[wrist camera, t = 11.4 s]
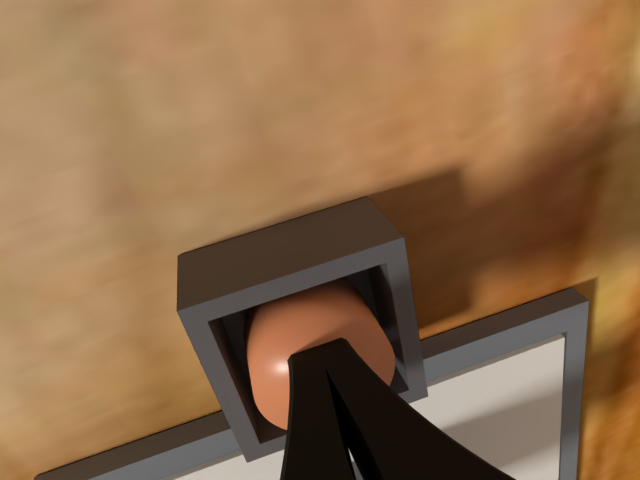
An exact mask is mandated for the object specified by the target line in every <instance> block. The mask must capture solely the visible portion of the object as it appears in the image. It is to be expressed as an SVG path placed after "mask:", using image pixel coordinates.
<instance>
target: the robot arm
mask: <svg viewBox="0 0 640 480" xmlns="http://www.w3.org/2000/svg"><path fill="white" fill-rule="evenodd" d="M287 362H288V368H289V411H288V424H287V435H286V443H285V449H284V456H283V463H282V469H281V475H280V480H356V476H355V473H354V469H353V465H352V461H351V457H350V453H349V450H350V452H351V455H352V457H353V459H354V461H355V463H356V466H357V468H358V470H359V472H360V474H361V476H362V479H363V480H516V479H515V478H513V477H511V476H509V475H508V474H506V473H504V472H503V471H501V470H499V469H497V468H496V467H494V466H492V465H491V464H489V463H488V462H486V461H485V460H483V459H482V458H480V457H479V456H477V455H476V454H474V453H473V452H471V451H470V450H468V449H467V448H465V447H464V446H462V445H461V444H459V443H458V442H457V441H455V440H454V439H452V438H451V437H450V436H448V435H447V434H446V433H444V432H443V431H441V430H440V429H439V428H438V427H436V426H435V425H434V424H432V423H431V422H430V421H429V420H427V419H426V418H425V417H424V416H422V415H421V414H420V413H419V412H418V411H416V410H415V409H414V408H413V407H412V406H410V405H409V404H408V403H407V402H406V401H405V400H403V399H402V398H401V397H400V396H399V395H398V394H397V393H396V392H395V391H394V390H393V389H391V388H390V387H389V386H388V385H387V384H386V383H385V382H384V381H383V380H382V379H381V378H380V377H379V376H378V375H377V374H376V373H375V372H374V371H373V370H372V369H371V368H370V367H369V366H368V365H367V364H366V363H365V362H364V360H363V359H362V358H361V357H360V356H359V355H358V354H357V352H356V351H355V350H354V349H353V347H352V346H351V345H350V343H349V342H348V341H347V340H346V339H344V338H342V337H341V338H338V339H335V340H332V341H330V342H327V343H324V344H321V345H318V346H315V347H312V348H309V349H306V350H304V351H301V352H298V353H295V354H292V355H290V357H289V358H288V360H287ZM348 448H349V449H348Z"/></svg>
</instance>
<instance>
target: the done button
mask: <svg viewBox="0 0 640 480" xmlns="http://www.w3.org/2000/svg"><path fill="white" fill-rule="evenodd" d="M243 337H244V344H245V350H246V356H247V362H248V367H249V373H250V379H251V385H252V390H253V396H254V400H255V403H256V405H257V407H258V409H259V411H260V412H261V414H262V415H263V416H264V417H265V418H266V419H267V420H268V421H270V422H271V423H273V424H274V425H276V426H278V427H280V428H282V429H285V430H287V424H288V411H289V368H288V362H287V360H288V358H289V357H290V355H292V354H295V353H298V352H301V351H304V350H306V349H309V348H312V347H315V346H318V345H321V344H324V343H327V342H330V341H332V340H335V339H338V338H341V337H342V338H344V339H346V340H347V341H348V342H349V343H350V345H351V346H352V347H353V349H354V350H355V351H356V352H357V354H358V355H359V356H360V357H361V358H362V359H363V360H364V362H365V363H366V364H367V365H368V366H369V367H370V368H371V369H372V370H373V371H374V372H375V373H376V374H377V375H378V376H379V377H380V378H381V379H382V380H383V381H384V382H385V383H386V384H387V385H388V386H390V384H391V381H392V378H393V375H394V370H395V355H394V352H393V348H392V346H391V344H390V342H389V340H388V339H387V337H386V335H385V333H384V332H383V330H382V328H381V327H380V325H379V323H378V321H377V320H376V318H375V316H374V315H373V313H372V311H371V309H370V308H369V306H368V304H367V303H366V301H365V299H364V297H363V296H362V294H361V293H360V291H359V290H358V289H357V288H356V287H355V286H354V285H353V284H352V283H350V282H349V281H347V280H345V279H343V278H342V277H341V278H338V279H335V280H332V281H329V282H326V283H323V284H320V285H317V286H314V287H311V288H307V289H304V290H301V291H298V292H295V293H292V294H289V295H286V296H283V297H280V298H277V299H274V300H271V301H268V302H265V303H262V304H259V305H256V306H253V307H251V308H250V310H249V312H248V314H247V317H246V320H245V324H244V330H243Z"/></svg>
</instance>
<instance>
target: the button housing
mask: <svg viewBox="0 0 640 480" xmlns="http://www.w3.org/2000/svg"><path fill="white" fill-rule="evenodd" d="M341 277H342V278H343V279H345V280H347V281H349V282H350V283H352V284H353V285H354V286H355V287H356V288H357V289H358V290H359V291H360V293H361V294H362V296H363V297H364V299H365V301H366V303H367V304H368V306H369V308H370V309H371V311H372V313H373V315H374V316H375V318H376V320H377V321H378V323H379V325H380V327H381V328H382V330H383V332H384V333H385V335H386V337H387V339H388V340H389V342H390V344H391V346H392V348H393V352H394V355H395V370H394V375H393V378H392V381H391V384H390V386H389V387H390V388H391V389H393V390H394V391H395V392H396V393H397V394H398V395H399V396H400V397H401V398H402V399H403V400H405V401H406V402H407V403H408V404H409V403H412V402H415V401H418V400H420V399H423V398H426V397H428V391H427V384H426V377H425V371H424V364H423V358H422V351H421V344H420V338H419V331H418V325H417V318H416V312H415V305H414V298H413V292H412V285H411V279H410V272H409V265H408V259H407V252H406V246H405V239H404V236H403V235H402V234H401V233H400V232H399V231H398V230H397V228H396V227H395V226H394V225H393V224H392V223H391V222H390V221H389V219H388V218H387V217H386V216H385V215H384V214H383V213H382V212H381V210H380V209H379V208H378V207H377V206H376V205H375V204H374V203H373V201H372V200H371V199H370V198H369V197H368V196H367V197H363V198H360V199H357V200H354V201H351V202H347V203H344V204H341V205H338V206H335V207H332V208H328V209H325V210H322V211H319V212H316V213H312V214H309V215H306V216H303V217H300V218H296V219H293V220H290V221H287V222H284V223H280V224H277V225H274V226H271V227H268V228H265V229H261V230H258V231H255V232H252V233H249V234H245V235H242V236H239V237H236V238H233V239H229V240H226V241H223V242H220V243H217V244H213V245H210V246H207V247H204V248H201V249H198V250H194V251H191V252H188V253H185V254H182V255H178V269H177V313H178V315H179V317H180V319H181V322H182V324H183V326H184V328H185V330H186V332H187V334H188V337H189V339H190V341H191V343H192V345H193V347H194V350H195V352H196V354H197V356H198V358H199V360H200V363H201V365H202V367H203V369H204V371H205V373H206V376H207V378H208V380H209V382H210V384H211V386H212V389H213V391H214V393H215V395H216V397H217V399H218V401H219V404H220V406H221V408H222V410H223V412H224V414H225V417H226V419H227V421H228V423H229V425H230V427H231V430H232V432H233V434H234V436H235V438H236V440H237V443H238V445H239V447H240V449H241V451H242V453H243V455H244V458H245V460H246V462H247V463H248V462H251V461H254V460H257V459H259V458H262V457H265V456H267V455H270V454H273V453H276V452H278V451H281V450H284V449H285V443H286V435H287V430H285V429H282V428H280V427H278V426H276V425H274V424H273V423H271V422H270V421H268V420H267V419H266V418H265V417H264V416H263V415H262V414H261V412H260V411H259V409H258V407H257V405H256V403H255V400H254V396H253V390H252V385H251V379H250V373H249V367H248V362H247V356H246V350H245V344H244V337H243V330H244V324H245V320H246V317H247V314H248V312H249V310H250V308H251V307H253V306H256V305H259V304H262V303H265V302H268V301H271V300H274V299H277V298H280V297H283V296H286V295H289V294H292V293H295V292H298V291H301V290H304V289H307V288H311V287H314V286H317V285H320V284H323V283H326V282H329V281H332V280H335V279H338V278H341Z"/></svg>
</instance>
